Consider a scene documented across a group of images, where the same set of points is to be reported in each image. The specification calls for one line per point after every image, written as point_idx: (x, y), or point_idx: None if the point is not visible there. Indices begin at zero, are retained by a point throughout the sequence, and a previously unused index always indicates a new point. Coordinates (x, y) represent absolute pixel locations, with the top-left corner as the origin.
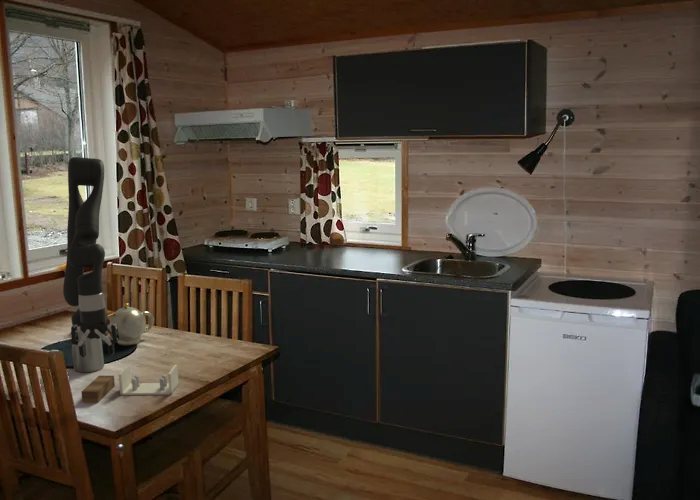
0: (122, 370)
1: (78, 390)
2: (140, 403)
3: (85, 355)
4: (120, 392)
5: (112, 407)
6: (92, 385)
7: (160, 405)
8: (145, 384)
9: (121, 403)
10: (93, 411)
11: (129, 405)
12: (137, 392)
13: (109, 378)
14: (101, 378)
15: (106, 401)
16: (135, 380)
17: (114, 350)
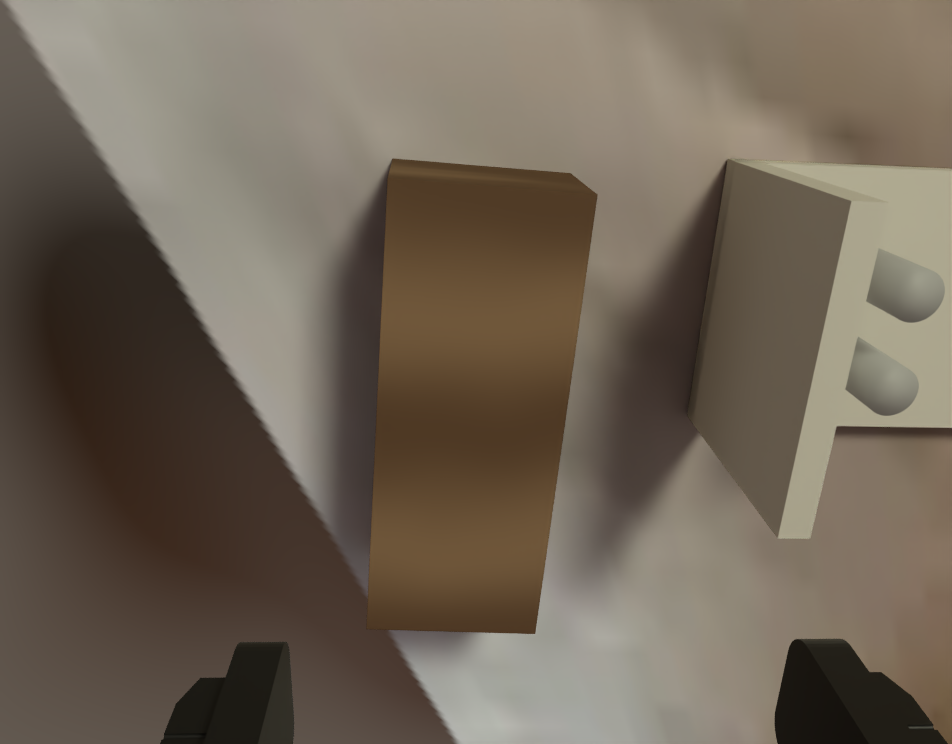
0: (808, 410)
1: (189, 273)
2: (892, 583)
3: (287, 681)
4: (698, 426)
5: (671, 643)
6: (425, 489)
7: None
8: (929, 209)
9: (731, 579)
10: (535, 702)
11: (805, 614)
12: (860, 412)
13: (565, 294)
14: (458, 287)
15: (588, 539)
16: (904, 400)
17: (924, 719)
